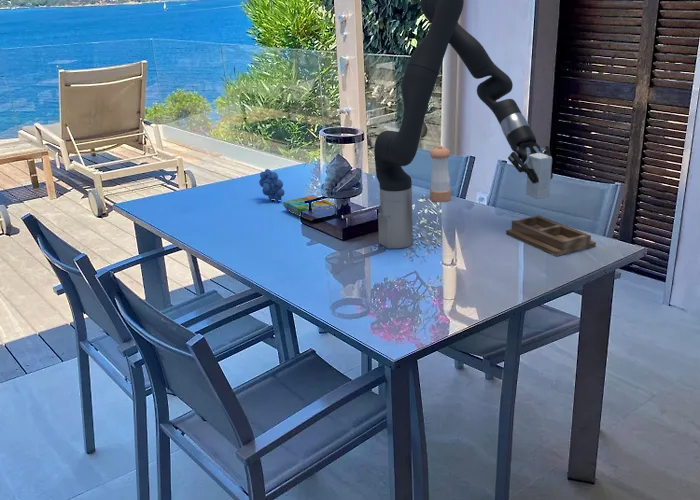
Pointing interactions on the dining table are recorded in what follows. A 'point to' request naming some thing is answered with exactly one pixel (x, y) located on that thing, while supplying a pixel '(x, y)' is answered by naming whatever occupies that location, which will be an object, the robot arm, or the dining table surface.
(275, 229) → the dining table surface
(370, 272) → the dining table surface
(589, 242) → the rack
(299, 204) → the puzzle game
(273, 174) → the grapes
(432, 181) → the salt shaker
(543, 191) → the skincare box
